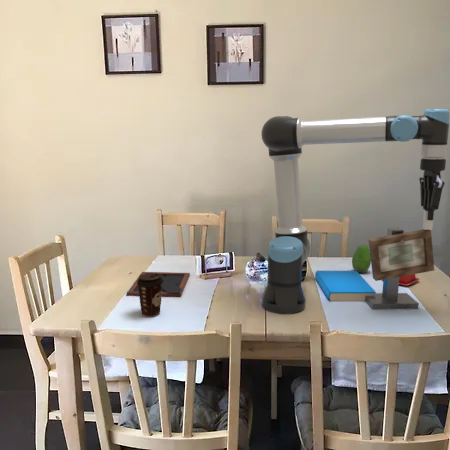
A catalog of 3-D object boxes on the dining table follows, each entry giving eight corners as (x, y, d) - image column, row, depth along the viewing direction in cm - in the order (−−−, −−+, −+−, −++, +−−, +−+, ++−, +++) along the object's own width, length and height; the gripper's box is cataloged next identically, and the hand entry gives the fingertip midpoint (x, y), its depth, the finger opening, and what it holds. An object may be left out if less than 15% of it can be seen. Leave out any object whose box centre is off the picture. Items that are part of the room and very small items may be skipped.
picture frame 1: (180, 298, 173) (189, 276, 197) (180, 293, 172) (189, 272, 197) (126, 297, 174) (142, 275, 198) (126, 292, 174) (142, 271, 198)
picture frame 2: (376, 281, 160) (372, 241, 157) (372, 278, 163) (368, 239, 160) (435, 271, 160) (431, 231, 156) (430, 267, 163) (426, 228, 160)
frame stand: (372, 309, 163) (378, 232, 157) (362, 298, 173) (368, 226, 167) (418, 308, 164) (425, 232, 158) (406, 298, 173) (413, 226, 167)
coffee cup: (165, 308, 162) (164, 272, 160) (163, 318, 154) (162, 280, 152) (139, 308, 162) (138, 272, 159) (136, 318, 154) (134, 280, 151)
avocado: (372, 275, 199) (374, 247, 197) (353, 274, 199) (355, 247, 197) (367, 269, 207) (369, 242, 205) (349, 269, 207) (350, 242, 205)
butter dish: (380, 281, 192) (381, 261, 190) (394, 275, 200) (396, 255, 198) (406, 288, 184) (408, 267, 182) (420, 282, 192) (422, 262, 190)
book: (356, 270, 194) (376, 291, 170) (355, 280, 195) (375, 302, 170) (314, 270, 194) (329, 291, 169) (314, 280, 195) (328, 302, 170)
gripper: (455, 159, 147) (448, 233, 152) (435, 156, 160) (429, 224, 165) (431, 159, 147) (425, 233, 152) (413, 156, 160) (408, 225, 165)
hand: (427, 229), depth 158 cm, fingers closed
